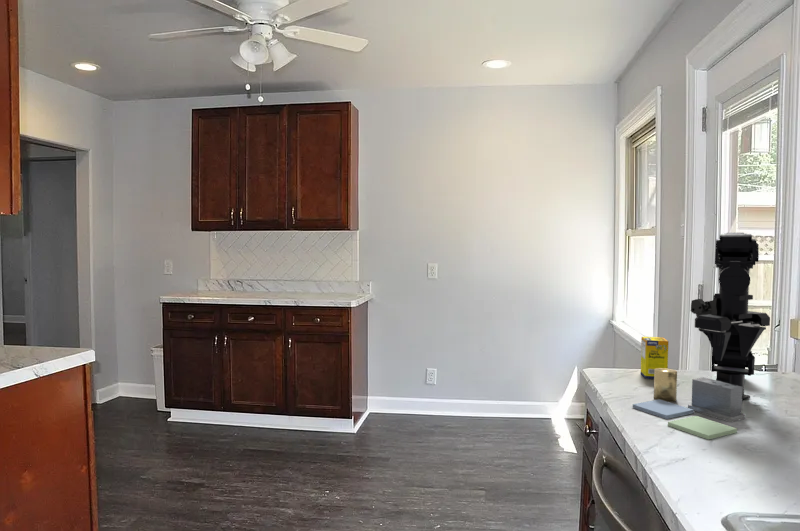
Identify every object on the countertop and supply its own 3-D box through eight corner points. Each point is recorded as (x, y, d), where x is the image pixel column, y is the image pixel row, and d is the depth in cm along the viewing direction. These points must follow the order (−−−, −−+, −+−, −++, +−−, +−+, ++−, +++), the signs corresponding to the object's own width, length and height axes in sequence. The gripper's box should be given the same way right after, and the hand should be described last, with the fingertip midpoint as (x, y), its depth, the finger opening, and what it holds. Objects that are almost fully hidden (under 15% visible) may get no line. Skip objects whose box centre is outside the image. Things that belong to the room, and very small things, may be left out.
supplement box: (668, 380, 155) (669, 340, 154) (644, 378, 156) (645, 340, 155) (662, 374, 161) (663, 337, 160) (640, 373, 162) (641, 336, 161)
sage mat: (695, 419, 121) (696, 415, 121) (737, 432, 113) (737, 428, 113) (667, 425, 117) (668, 421, 117) (708, 439, 109) (708, 435, 109)
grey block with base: (702, 406, 131) (703, 376, 130) (745, 418, 122) (746, 386, 122) (688, 409, 129) (688, 379, 128) (730, 422, 120) (731, 389, 119)
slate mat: (659, 402, 134) (659, 399, 134) (693, 413, 126) (693, 409, 126) (632, 407, 130) (632, 404, 130) (666, 419, 122) (666, 415, 122)
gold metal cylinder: (662, 395, 140) (663, 367, 140) (680, 400, 136) (681, 371, 135) (649, 397, 138) (649, 369, 138) (667, 403, 133) (667, 373, 133)
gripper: (725, 285, 137) (723, 348, 138) (674, 288, 129) (672, 355, 130) (772, 289, 128) (770, 357, 128) (720, 292, 119) (718, 365, 120)
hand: (731, 358), depth 127 cm, fingers open, 9 cm apart
